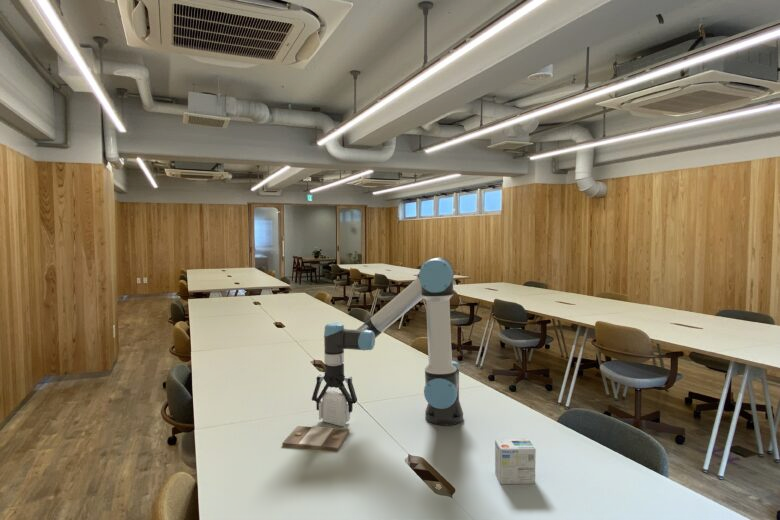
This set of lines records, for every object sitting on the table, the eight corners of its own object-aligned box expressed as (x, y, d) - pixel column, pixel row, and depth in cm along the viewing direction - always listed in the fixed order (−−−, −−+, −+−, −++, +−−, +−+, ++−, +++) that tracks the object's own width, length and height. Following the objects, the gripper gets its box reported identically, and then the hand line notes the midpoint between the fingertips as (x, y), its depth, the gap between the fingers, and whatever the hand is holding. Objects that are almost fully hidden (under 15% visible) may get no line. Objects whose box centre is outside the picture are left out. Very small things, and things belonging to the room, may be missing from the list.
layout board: (348, 433, 162) (349, 429, 162) (338, 451, 148) (338, 446, 148) (297, 428, 165) (297, 425, 165) (282, 446, 151) (282, 442, 151)
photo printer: (348, 423, 170) (348, 392, 170) (342, 427, 167) (341, 395, 166) (327, 418, 175) (327, 387, 175) (320, 421, 172) (320, 390, 171)
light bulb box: (528, 472, 135) (528, 437, 134) (536, 484, 128) (536, 448, 128) (493, 472, 134) (494, 438, 134) (500, 485, 128) (500, 448, 127)
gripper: (365, 362, 172) (365, 417, 173) (309, 359, 175) (309, 413, 177) (360, 367, 164) (360, 425, 165) (302, 364, 168) (303, 420, 169)
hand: (334, 419), depth 171 cm, fingers open, 10 cm apart
